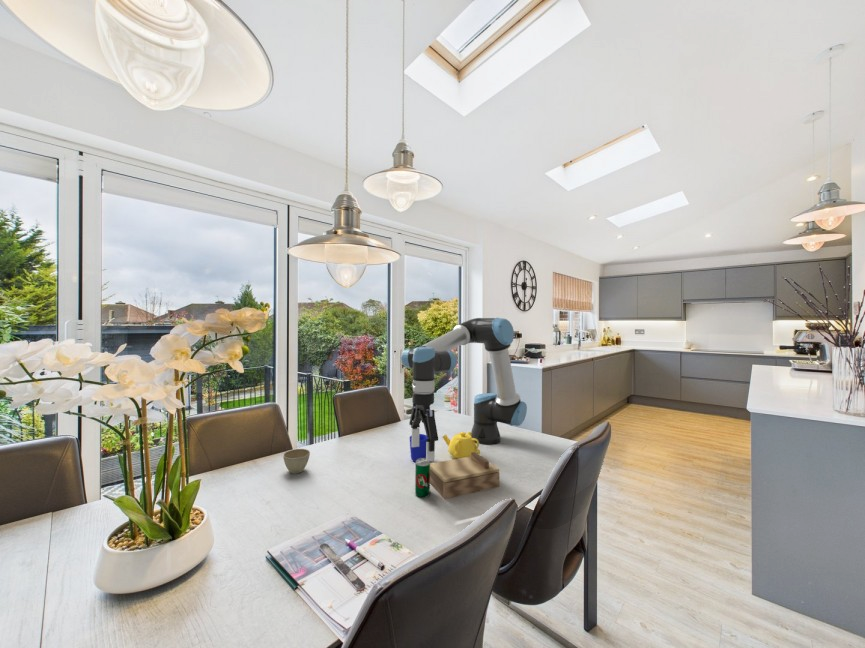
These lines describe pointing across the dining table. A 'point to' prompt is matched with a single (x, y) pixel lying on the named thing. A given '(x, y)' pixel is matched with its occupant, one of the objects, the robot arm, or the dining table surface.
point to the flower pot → (296, 460)
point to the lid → (463, 468)
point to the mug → (418, 448)
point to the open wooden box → (464, 484)
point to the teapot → (462, 445)
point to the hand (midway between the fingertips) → (422, 453)
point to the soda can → (422, 478)
